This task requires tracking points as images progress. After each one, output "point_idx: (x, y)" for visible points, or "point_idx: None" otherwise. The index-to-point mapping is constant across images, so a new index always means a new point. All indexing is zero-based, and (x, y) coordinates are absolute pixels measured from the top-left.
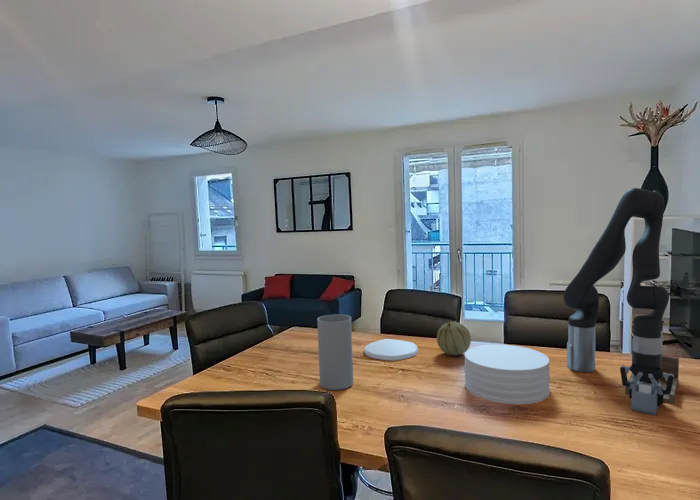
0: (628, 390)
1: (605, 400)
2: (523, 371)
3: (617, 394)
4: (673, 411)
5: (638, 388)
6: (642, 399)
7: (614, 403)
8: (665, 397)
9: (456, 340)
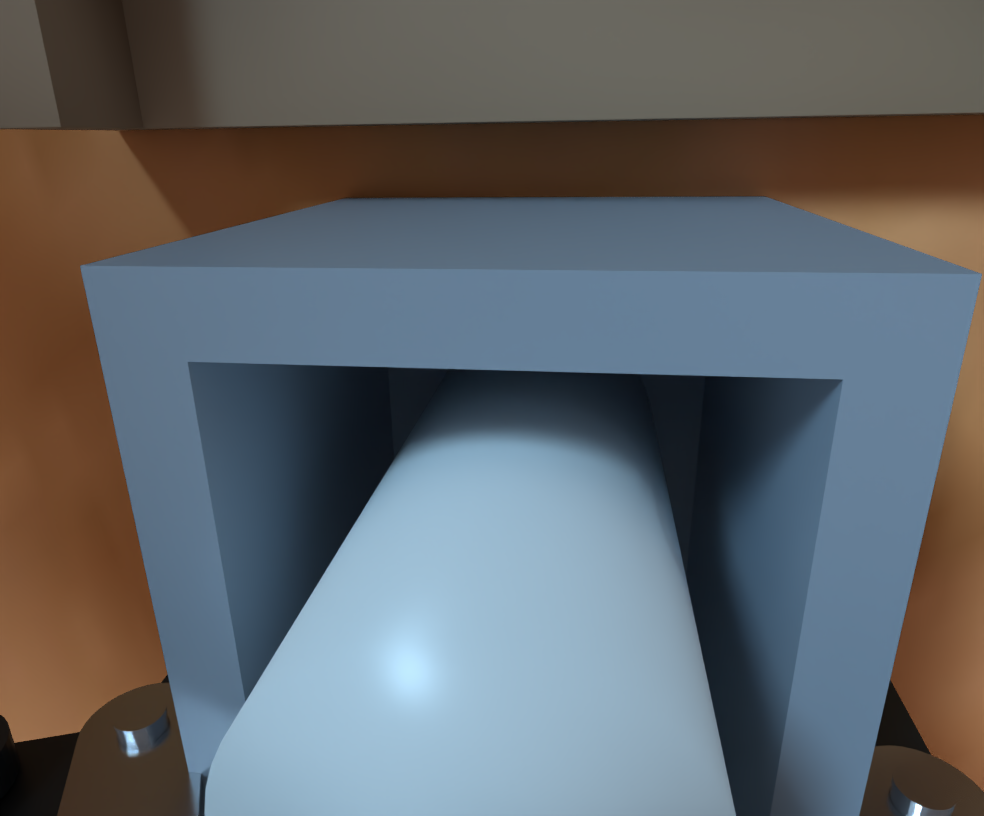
0: (118, 125)
1: (25, 631)
2: None
3: (35, 261)
4: (974, 550)
5: (311, 542)
6: None
7: (153, 675)
8: (929, 41)
9: None
